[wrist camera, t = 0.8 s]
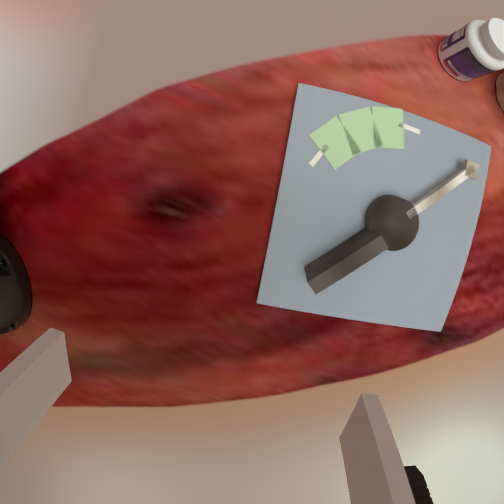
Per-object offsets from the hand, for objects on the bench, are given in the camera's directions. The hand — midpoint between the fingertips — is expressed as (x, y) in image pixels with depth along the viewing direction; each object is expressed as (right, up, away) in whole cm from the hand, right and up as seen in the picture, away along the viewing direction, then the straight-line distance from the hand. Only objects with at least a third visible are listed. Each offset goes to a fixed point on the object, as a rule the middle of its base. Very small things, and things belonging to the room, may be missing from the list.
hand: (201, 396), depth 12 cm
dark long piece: (+15, +9, +18) cm, 25 cm away
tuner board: (+15, +9, +19) cm, 26 cm away
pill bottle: (+25, +27, +14) cm, 39 cm away
